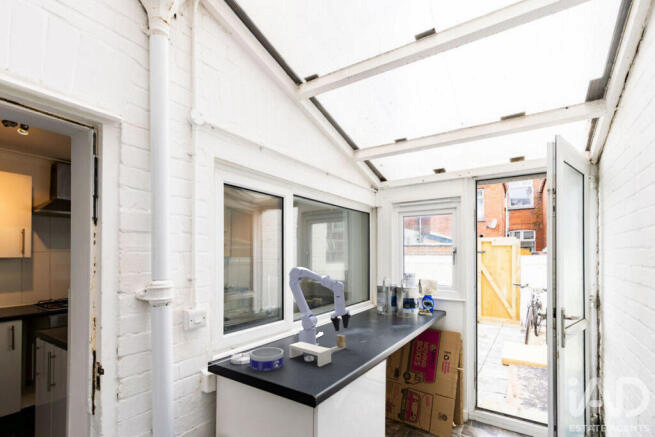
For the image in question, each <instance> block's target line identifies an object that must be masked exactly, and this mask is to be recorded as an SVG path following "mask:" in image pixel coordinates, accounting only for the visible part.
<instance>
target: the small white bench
mask: <svg viewBox="0 0 655 437" xmlns="http://www.w3.org/2000/svg"><path fill="white" fill-rule="evenodd" d="M288 347H289V348H288V349H289V350H288V351H289V352H288V353H289V354H288V358H290V359H292V358H296V357H299V356H301V355H303V353H306V354H310V355H312V356H314V355H317V356H318V357H317V367H323V366H324V365H328V364H330V363H331V362H332V354H331V349H330V348H331V347H324V346H320V345H313V344H309V343H305V342H299V341H298V342H295V343H291V344H289V346H288Z"/></svg>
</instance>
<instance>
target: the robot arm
mask: <svg viewBox="0 0 655 437" xmlns="http://www.w3.org/2000/svg"><path fill="white" fill-rule="evenodd" d="M288 276H289V278H288V279H289V281H288V284H289V288H290V290H291V293H292V295H293V297H294V300H295V303H296V305H297V307H298V310H299V312H300V319H301V327H300V329H299V332H298V342H305V343H309V344H313V345H317V346H320V343H317V339H316V335H317V327H316V325H317V324H318V319H317V317H316V316H315V315H314V313H313V311H312V310H310V307H309V305H308V302H307V300H306V299H305V296H304V293H303V291H302V289H301V285H300V282H301V281H302V279H303V278H304V277H305V278H306V277H307V278H310V279H312V280H314V281H317V282H319V283H320V285H321V286H323V287H324V288H325V287H326V288H327V289H329V290H332V291H333V299H334V300H333V302H334V312H333V313H331V314H330V321H331V323H332V325H333V327H334V331H335V332H340V321H341V320H342V326H343V328H344V329H348V327H349V321H350V318H351V314H350V312H351V311H350V309H346V301H345V300H346V299H345V284H344V282H342V281H341V280H339V281H338V280H337V279H334V278H332V277H331V276H330V275H320V274H318V273H316V272H315V271H312V270H311V269H308V268H306V267H304V266H298V267H297V266H295V267H292V268H291V269H290V270H289V273H288ZM340 317H341V318H340Z"/></svg>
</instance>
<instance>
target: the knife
mask: <svg viewBox="0 0 655 437" xmlns="http://www.w3.org/2000/svg"><path fill="white" fill-rule="evenodd" d="M318 332H319V333H318V334H316V340H317V339H319V338H320V337H321V336H323V335H324V332H323V331H318Z"/></svg>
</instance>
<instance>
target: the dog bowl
mask: <svg viewBox="0 0 655 437" xmlns="http://www.w3.org/2000/svg"><path fill="white" fill-rule="evenodd" d="M283 365H284V349H282V348H279V347H274V346H273V347H272V346H269V347H265V346H264V347H260V348H259V347H258V348H256V349H253V350H251V351H250V352H249V368H250V369H252V370H254V371H259V372H269V371H274V370H278V369H280V368H282V366H283Z"/></svg>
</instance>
